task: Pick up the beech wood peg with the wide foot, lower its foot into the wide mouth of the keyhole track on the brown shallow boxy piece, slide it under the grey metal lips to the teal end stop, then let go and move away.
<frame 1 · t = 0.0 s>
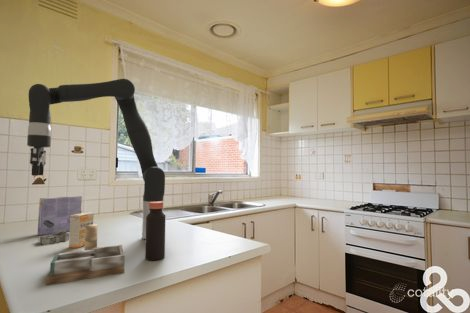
hand: (37, 175, 105), 29 cm above the worktop, tool pointing down, fingers open, 8 cm apart
keyhole peg: (90, 255, 97), on the worktop
egg carton: (54, 242, 116), on the worktop
bottle: (155, 258, 95), on the worktop
brown shallow boxy piece: (88, 269, 84), on the worktop
cake pan box: (60, 232, 134), on the worktop
supplement box: (81, 245, 110), on the worktop
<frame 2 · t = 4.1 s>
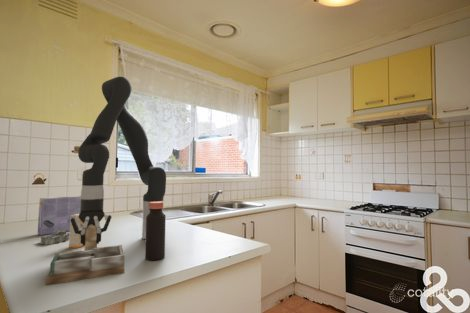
hand: (90, 243, 97), 4 cm above the worktop, tool pointing down, fingers closed on keyhole peg, 4 cm apart
keyhole peg: (90, 255, 97), on the worktop, touching gripper
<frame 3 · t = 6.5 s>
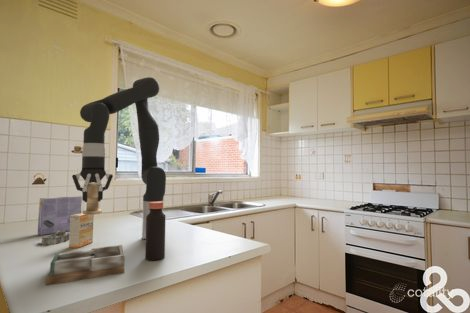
hand: (92, 201, 98), 20 cm above the worktop, tool pointing down, fingers closed on keyhole peg, 4 cm apart
keyhole peg: (92, 213, 98), point 16 cm above the worktop, touching gripper
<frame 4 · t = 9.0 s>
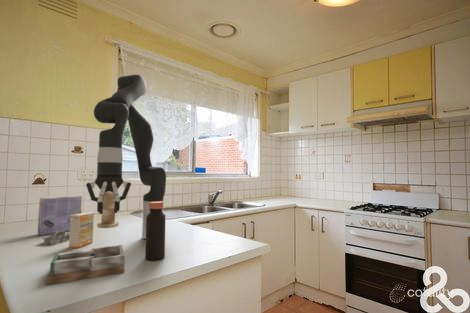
hand: (108, 212, 87), 17 cm above the worktop, tool pointing down, fingers closed on keyhole peg, 4 cm apart
keyhole peg: (107, 226, 87), point 13 cm above the worktop, touching gripper
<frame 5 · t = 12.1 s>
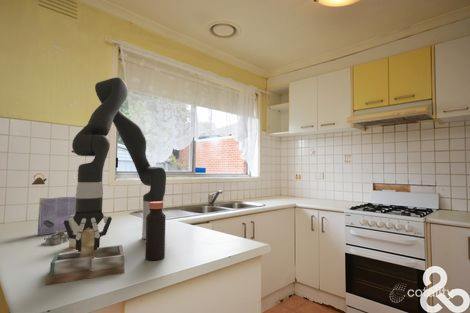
hand: (87, 250, 84), 6 cm above the worktop, tool pointing down, fingers closed on keyhole peg, 4 cm apart
keyhole peg: (87, 263, 83), point 2 cm above the worktop, touching gripper
when the fingers open (6 cm above the worktop, at t = 14.2 s): keyhole peg stays where it is, resting on brown shallow boxy piece.
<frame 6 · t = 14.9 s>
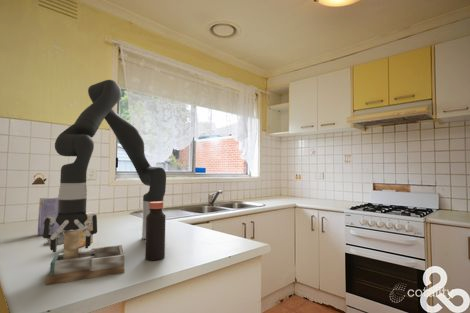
hand: (70, 249, 82), 7 cm above the worktop, tool pointing down, fingers open, 8 cm apart
keyhole peg: (70, 266, 82), point 2 cm above the worktop, touching brown shallow boxy piece
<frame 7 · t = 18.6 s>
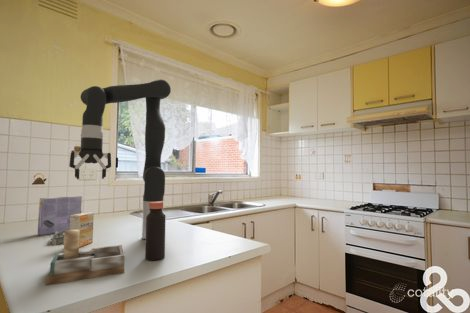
hand: (90, 178, 102), 28 cm above the worktop, tool pointing down, fingers open, 8 cm apart
at the end: keyhole peg 0.2 cm from the target spot on the brown shallow boxy piece, point 1.5 cm above the brown shallow boxy piece's base; keyhole peg tilted 1°; the gripper is holding nothing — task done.
